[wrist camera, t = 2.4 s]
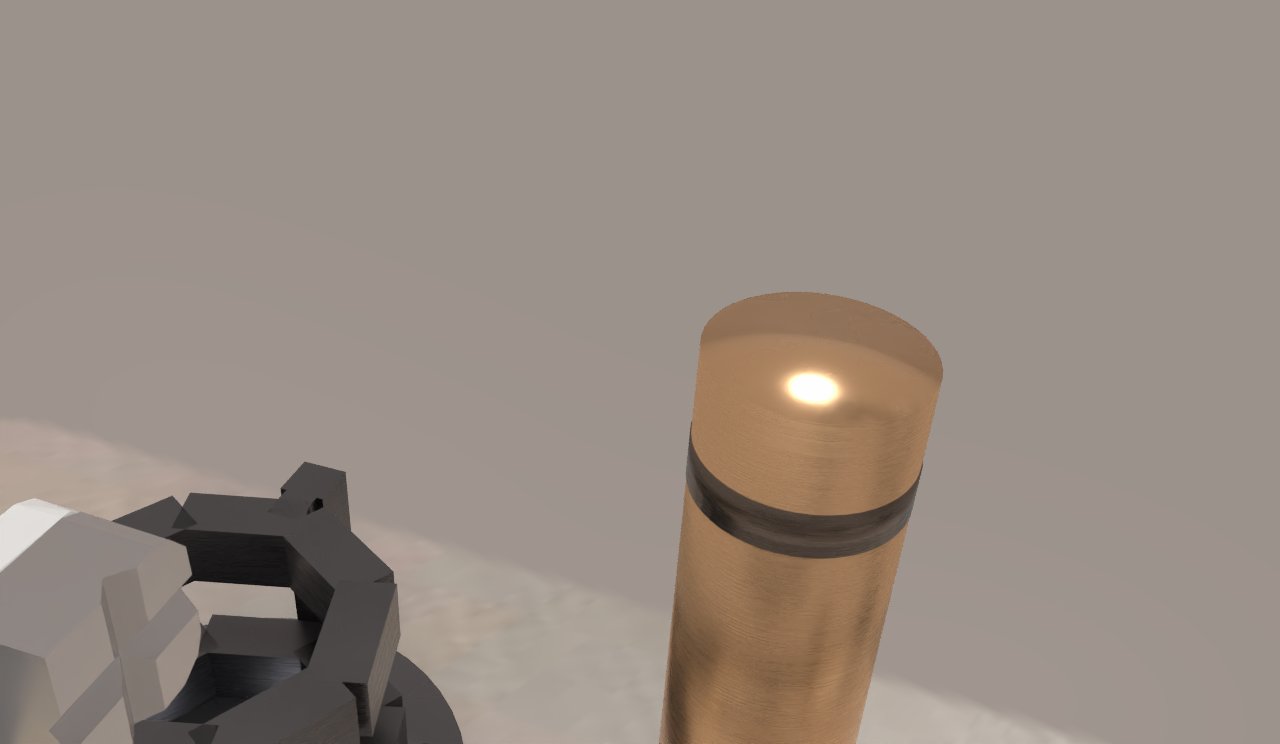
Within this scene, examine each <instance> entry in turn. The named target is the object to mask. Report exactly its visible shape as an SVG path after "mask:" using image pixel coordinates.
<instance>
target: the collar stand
mask: <svg viewBox="0 0 1280 744" xmlns="http://www.w3.org/2000/svg"><path fill="white" fill-rule="evenodd" d="M281 495H282V496H281V497H280V498H279V499H271V498H257V497H243V496H228V495H214V494H200V493H190V494H189V496H188V498H187V500H186V502H185V503H184V505H183V507H182V506H181V505H180V504H179V503H178V501H177V500H176V499H175V498H174V497H173V496H171V497H168V498H166V499H164V500H161V501H159V502H156V503H154V504H152V505H149V506H147V507H144V508H142V509H140V510H137V511H135V512H132V513H130V514H128V515H125V516H123V517H120V518H118V519H115V520H113V521H112V522H115V523H118V524H121V525H124V526H127V527H130V528H134V529H137V530H140V531H143V532H146V533H149V534H153V535H156V536H159V537H162V538H165V539H168V540H172V541H174V542H176V543H178V544H181V545H183V546H185V547H186V550H187V554H188V559H189V563H190V567H191V572H192V575H191V576H190V577H189V579H188V580H187V581H186V582H185V583H184V584H183V585H182V586H184V585H187V584H189V583H191V582H193V581H205V582H219V583H233V584H248V585H262V586H276V587H290V588H291V589H292V590H293V591H294V594H295V601H296V609H297V617H298V619H286V618H255V617H241V616H226V615H212V617H211V619H210V622H209V624H208V625H205V626H203V625H202V624H201V623H200V626H201V636H200V644H199V652H198V656H197V659H196V661H195V663H194V665H193V668H192V670H191V672H190V674H189V677H188V679H187V681H186V683H185V685H184V687H183V688H182V689H181V691H180V692H179V693H178V694H177V696H176V697H175V698H174V699H173V701H172V702H171V703H170V704H169V706H168V707H167V708H166V709H165V710H164V711H161V712H159V713H157V714H155V715H152V716H150V717H148V718H146V719H144V720H141V721H139V722H137V723H135V724H134V744H463V741H462V737H461V732H460V730H459V727H458V725H457V722H456V720H455V717H454V715H453V712H452V710H451V708H450V707H449V705H448V704H447V702H446V700H445V699H444V697H443V695H442V694H441V692H440V691H439V689H438V688H437V687H436V686H435V685H434V684H433V682H432V681H431V680H430V679H429V678H428V676H427V675H426V674H425V673H424V672H423V671H421V670H420V669H419V668H418V667H417V666H416V665H415V664H413V663H412V662H411V661H410V660H409V659H408V658H406V657H405V656H403V655H402V654H400V653H398V652H397V651H396V650H397V646H398V642H399V639H400V623H399V608H398V593H397V584H394V574H393V571H392V570H391V569H390V568H389V567H388V566H387V565H386V564H385V563H384V562H383V561H382V560H381V559H380V558H378V557H377V556H376V555H375V554H374V553H373V552H372V551H371V550H370V549H369V548H368V547H367V546H366V545H365V544H364V543H363V542H362V541H361V540H360V539H359V538H358V537H357V536H355V535H354V534H353V533H352V532H351V526H350V515H349V505H348V494H347V484H346V472H343V471H339V470H335V469H332V468H328V467H324V466H320V465H316V464H311V463H307V462H304V463H303V464H302V465H301V467H300V468H299V469H298V470H297V471H296V472H295V473H294V474H293V475H292V476H291V478H290V479H289V480H288V481H287V482H286V483H285V484H284V485H283V486H282V487H281Z"/></svg>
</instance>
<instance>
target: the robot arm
mask: <svg viewBox="0 0 1280 744" xmlns="http://www.w3.org/2000/svg"><path fill="white" fill-rule="evenodd" d="M191 575H192V572H191V567H190V563H189V559H188V554H187V550H186V547H185V546H183V545H181V544H178V543H176V542H174V541H172V540H168V539H165V538H162V537H159V536H156V535H153V534H149V533H146V532H143V531H140V530H137V529H134V528H130V527H127V526H124V525H121V524H118V523H115V522H112V521H108V520H105V519H102V518H99V517H96V516H93V515H89V514H86V513H83V512H78V511H75V510H72V509H68V508H65V507H62V506H59V505H55V504H52V503H49V502H46V501H42V500H39V499H36V498H34V499H30V500H27V501H24V502H20V503H17V504H14V505H13V506H12V507H11V508H9V509H8V510H7V511H6V512H5V513H3V514H2V515H1V516H0V744H134V724H135V723H137V722H139V721H141V720H144V719H146V718H148V717H150V716H152V715H155V714H157V713H159V712H161V711H164V710H165V709H166V708H167V707H168V706H169V704H170V703H171V702H172V701H173V699H174V698H175V697H176V696H177V694H178V693H179V692H180V691H181V689H182V688H183V687H184V685H185V683H186V681H187V679H188V677H189V674H190V672H191V670H192V668H193V665H194V663H195V661H196V659H197V656H198V652H199V644H200V636H201V626H200V620H199V613H198V610H197V609H196V607H195V606H194V605H193V604H192V602H191V601H190V600H189V598H188V597H187V596H186V595H185V593H184V592H183V591H182V590H181V587H182V585H183V584H184V583H185V582H186V581H187V580H188V579H189V577H190V576H191Z"/></svg>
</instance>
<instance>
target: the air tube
mask: <svg viewBox="0 0 1280 744" xmlns="http://www.w3.org/2000/svg"><path fill="white" fill-rule="evenodd" d="M942 376H943V368H942V362H941V359H940V357H939V355H938V353H937V351H936V349H935V348H934V347H933V345H932V343H931V342H930V341H929V340H928V339H927V338H926V337H925V336H924V335H923V334H922V333H920V331H918V330H917V329H916V328H914V327H913V326H912V325H910V324H909V323H907V322H906V321H904V320H902V319H901V318H899V317H897V316H895V315H893V314H891V313H889V312H887V311H885V310H883V309H880V308H878V307H875V306H872V305H870V304H867V303H863V302H860V301H857V300H853V299H849V298H844V297H840V296H834V295H828V294H820V293H808V292H783V293H772V294H765V295H760V296H754V297H751V298H747V299H744V300H741V301H738V302H736V303H733V304H731V305H729V306H727V307H725V308H724V309H722V310H721V311H719V312H718V313H717V314H715V315H714V316H713V317H712V318H711V319H710V320H709V322H708V323H707V325H706V326H705V327H704V330H703V332H702V335H701V341H700V351H699V361H698V371H697V380H696V390H695V399H694V409H693V419H692V422H691V428H690V438H689V448H688V457H687V467H686V486H685V496H684V506H683V516H682V526H681V535H680V545H679V554H678V564H677V575H676V583H675V594H674V603H673V612H672V622H671V632H670V642H669V651H668V661H667V671H666V680H665V690H664V700H663V709H662V719H661V729H660V738H659V744H856V740H857V736H858V732H859V728H860V724H861V719H862V715H863V711H864V707H865V702H866V698H867V694H868V690H869V686H870V681H871V677H872V673H873V669H874V664H875V660H876V656H877V652H878V647H879V643H880V639H881V635H882V631H883V627H884V622H885V618H886V614H887V609H888V605H889V601H890V597H891V593H892V588H893V584H894V580H895V576H896V572H897V568H898V563H899V559H900V555H901V551H902V547H903V542H904V538H905V534H906V530H907V525H908V521H909V518H910V515H911V512H912V509H913V505H914V501H915V496H916V492H917V488H918V484H919V479H920V475H921V471H922V466H923V458H924V454H925V449H926V445H927V441H928V437H929V433H930V428H931V424H932V420H933V416H934V411H935V407H936V403H937V398H938V395H939V391H940V386H941V382H942Z"/></svg>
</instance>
